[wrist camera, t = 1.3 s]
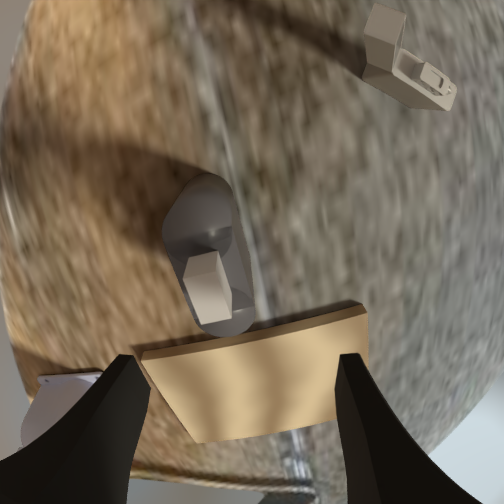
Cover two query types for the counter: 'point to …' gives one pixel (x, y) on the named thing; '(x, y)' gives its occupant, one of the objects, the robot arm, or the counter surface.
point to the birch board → (259, 376)
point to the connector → (211, 256)
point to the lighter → (401, 65)
